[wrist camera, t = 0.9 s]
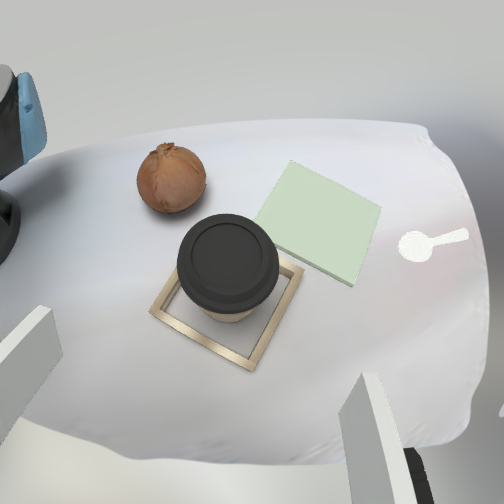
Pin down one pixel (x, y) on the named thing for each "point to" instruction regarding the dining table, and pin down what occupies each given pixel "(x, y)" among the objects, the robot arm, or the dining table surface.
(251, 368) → the picture frame
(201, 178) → the onion
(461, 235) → the spoon
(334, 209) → the mat
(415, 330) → the dining table surface
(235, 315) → the coffee cup
